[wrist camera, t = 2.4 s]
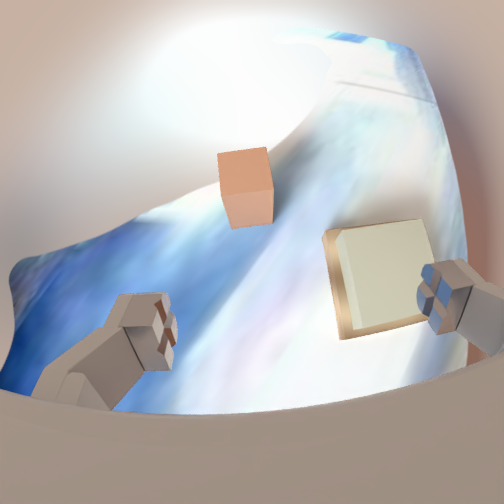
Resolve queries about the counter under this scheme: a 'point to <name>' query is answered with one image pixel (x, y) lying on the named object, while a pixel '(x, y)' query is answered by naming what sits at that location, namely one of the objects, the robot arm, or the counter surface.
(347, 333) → the tower base
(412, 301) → the tower top
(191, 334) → the counter surface
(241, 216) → the tall block
